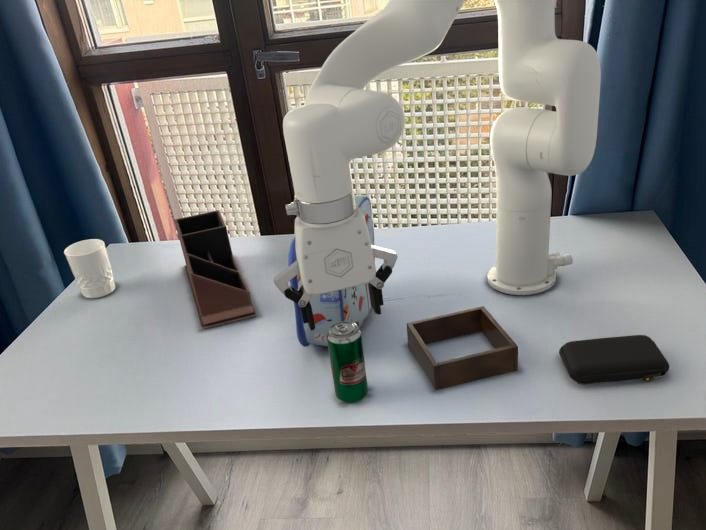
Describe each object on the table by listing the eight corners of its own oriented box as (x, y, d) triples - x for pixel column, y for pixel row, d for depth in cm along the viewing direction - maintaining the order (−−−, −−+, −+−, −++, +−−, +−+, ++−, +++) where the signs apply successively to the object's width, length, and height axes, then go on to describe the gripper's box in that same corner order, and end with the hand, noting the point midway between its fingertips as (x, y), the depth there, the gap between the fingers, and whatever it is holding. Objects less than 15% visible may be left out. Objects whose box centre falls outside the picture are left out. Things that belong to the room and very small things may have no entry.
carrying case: (573, 394, 103) (675, 385, 102) (574, 377, 101) (678, 368, 100) (555, 354, 112) (649, 345, 111) (556, 338, 110) (651, 329, 109)
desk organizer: (231, 256, 155) (220, 208, 149) (257, 316, 131) (246, 262, 125) (184, 267, 152) (171, 218, 146) (202, 330, 129) (187, 275, 123)
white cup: (72, 298, 145) (55, 254, 140) (97, 280, 151) (82, 237, 146) (101, 301, 143) (86, 257, 137) (126, 283, 149) (112, 240, 143)
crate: (483, 328, 120) (483, 305, 118) (517, 370, 109) (518, 346, 106) (408, 345, 118) (406, 323, 115) (435, 390, 107) (433, 366, 104)
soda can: (344, 409, 105) (334, 341, 98) (330, 392, 109) (319, 326, 102) (374, 397, 107) (366, 330, 100) (359, 381, 111) (350, 316, 104)
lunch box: (333, 283, 139) (318, 175, 127) (384, 283, 137) (374, 174, 125) (294, 361, 117) (271, 239, 105) (354, 363, 115) (338, 239, 103)
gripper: (264, 230, 87) (289, 345, 96) (398, 202, 89) (409, 316, 99) (256, 209, 93) (280, 319, 102) (382, 182, 95) (393, 292, 105)
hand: (343, 317), depth 101 cm, fingers open, 9 cm apart
